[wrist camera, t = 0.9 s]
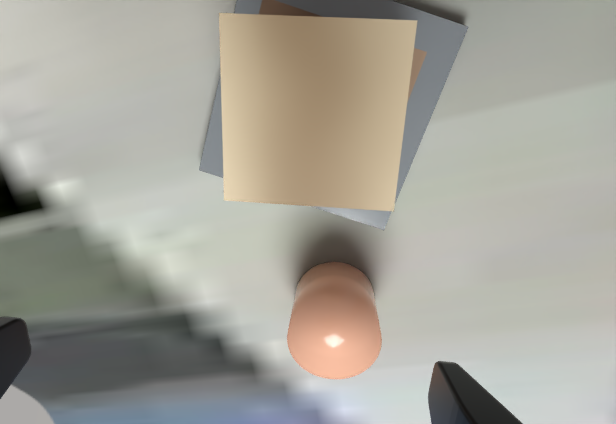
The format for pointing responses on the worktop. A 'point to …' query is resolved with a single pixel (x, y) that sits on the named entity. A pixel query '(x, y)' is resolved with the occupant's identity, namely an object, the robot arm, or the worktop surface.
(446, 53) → the slate coaster
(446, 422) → the robot arm
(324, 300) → the peach rounded cylinder
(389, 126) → the top block
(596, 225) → the worktop surface
